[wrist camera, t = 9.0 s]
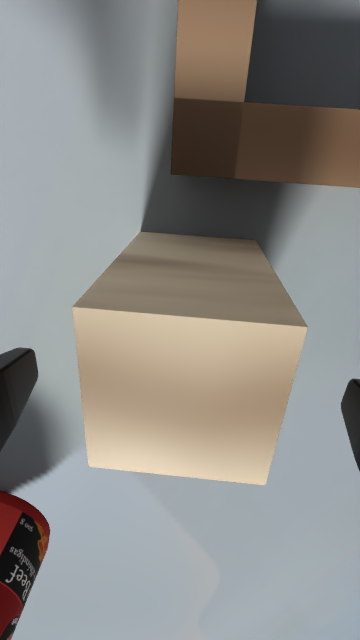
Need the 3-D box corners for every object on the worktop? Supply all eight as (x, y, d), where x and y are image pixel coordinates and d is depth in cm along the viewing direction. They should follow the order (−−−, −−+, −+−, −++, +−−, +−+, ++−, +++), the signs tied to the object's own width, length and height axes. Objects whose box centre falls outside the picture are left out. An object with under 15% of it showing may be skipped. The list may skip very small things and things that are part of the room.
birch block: (239, 340, 16) (265, 485, 9) (140, 331, 16) (88, 466, 9) (255, 240, 14) (307, 327, 7) (140, 231, 14) (72, 306, 7)
